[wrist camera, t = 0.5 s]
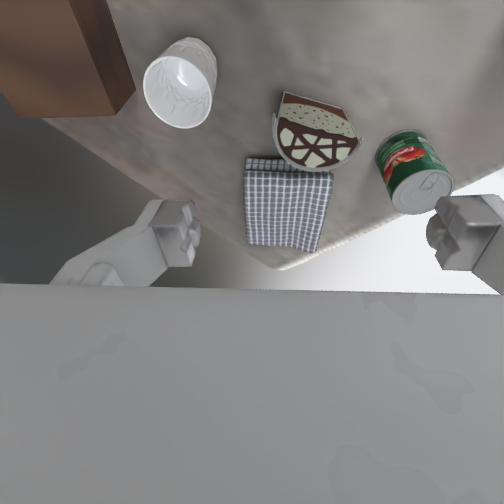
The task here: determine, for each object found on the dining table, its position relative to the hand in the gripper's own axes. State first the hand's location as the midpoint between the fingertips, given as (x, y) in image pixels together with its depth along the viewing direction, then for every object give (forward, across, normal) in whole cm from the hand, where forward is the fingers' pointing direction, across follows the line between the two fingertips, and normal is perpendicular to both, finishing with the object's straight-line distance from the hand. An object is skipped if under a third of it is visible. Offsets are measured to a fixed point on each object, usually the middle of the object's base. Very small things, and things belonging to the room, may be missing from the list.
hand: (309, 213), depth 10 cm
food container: (+39, -2, +10) cm, 40 cm away
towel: (+41, +1, +25) cm, 48 cm away
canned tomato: (+40, -18, +16) cm, 47 cm away
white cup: (+38, +14, +2) cm, 40 cm away
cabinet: (+37, +30, -3) cm, 47 cm away
